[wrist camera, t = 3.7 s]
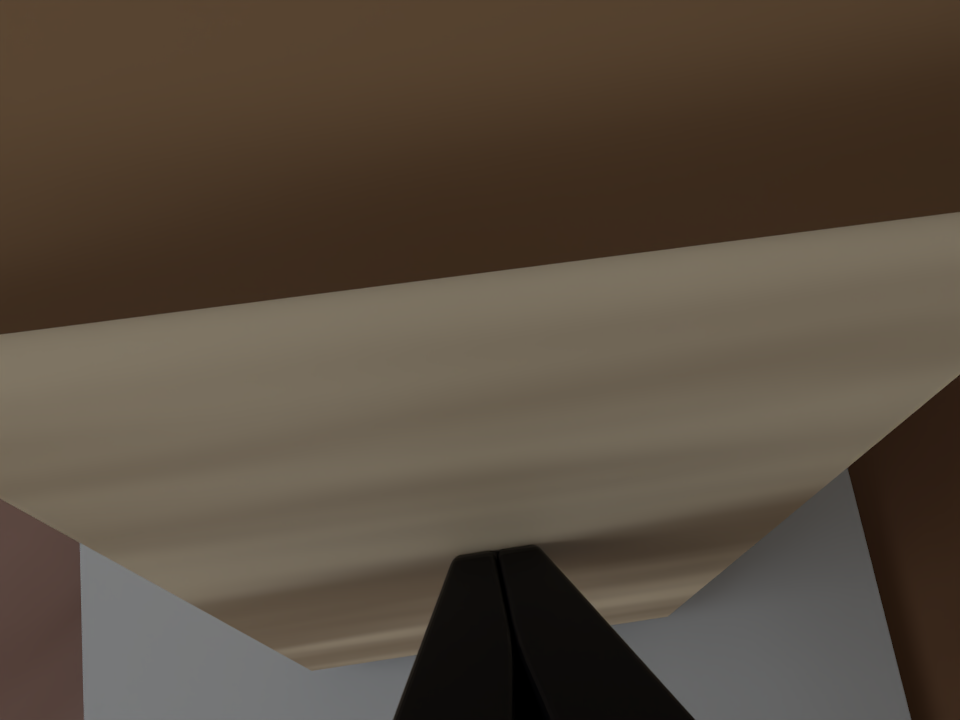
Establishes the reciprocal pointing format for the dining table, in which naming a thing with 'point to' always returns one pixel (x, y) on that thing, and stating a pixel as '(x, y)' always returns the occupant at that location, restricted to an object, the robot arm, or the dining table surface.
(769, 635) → the rubber mat
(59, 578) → the dining table surface
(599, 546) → the birch block
